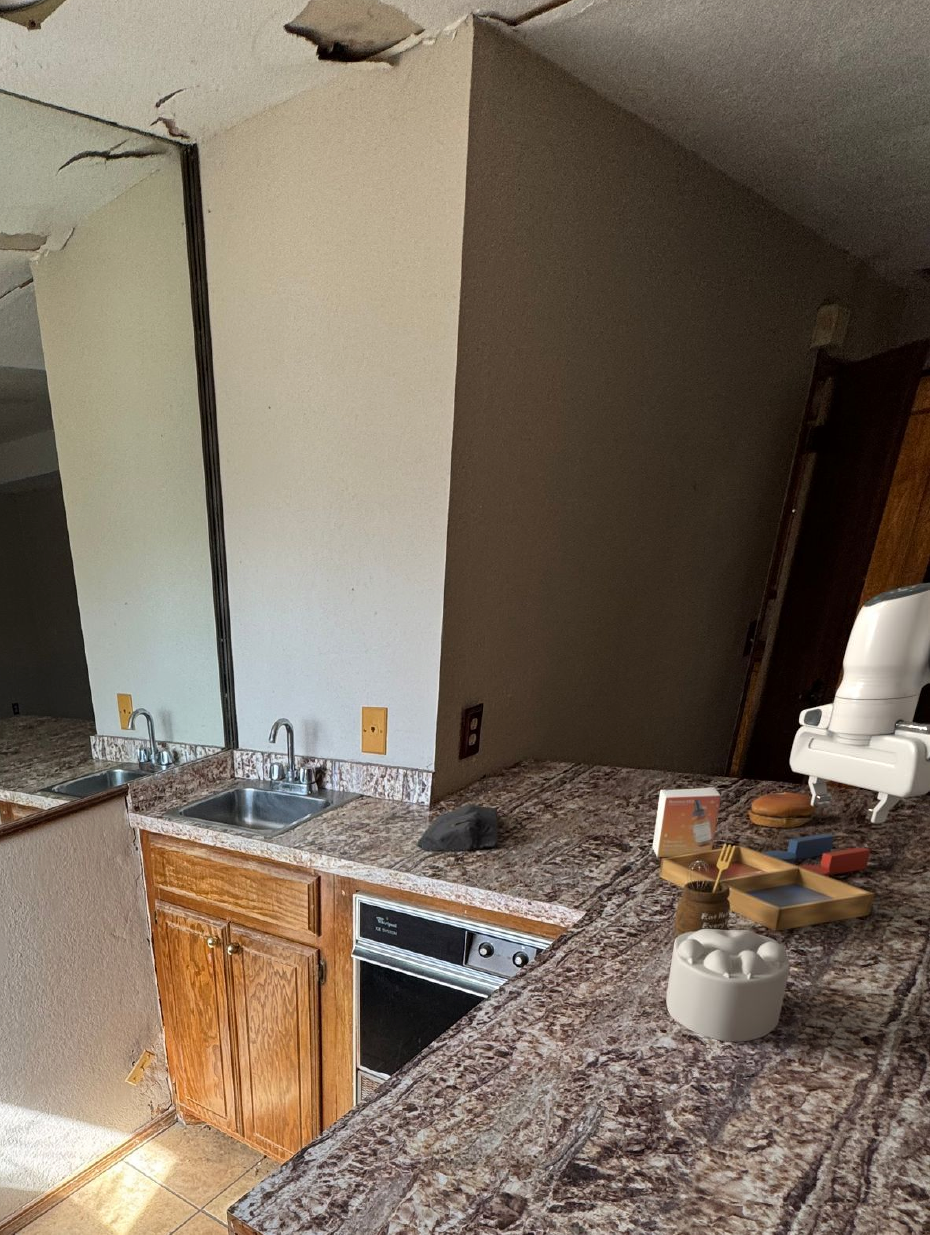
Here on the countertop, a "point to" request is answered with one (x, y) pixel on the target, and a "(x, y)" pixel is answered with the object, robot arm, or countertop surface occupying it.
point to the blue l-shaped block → (804, 848)
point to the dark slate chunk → (462, 830)
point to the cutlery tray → (772, 888)
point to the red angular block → (841, 861)
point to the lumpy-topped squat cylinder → (727, 983)
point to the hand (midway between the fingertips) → (846, 814)
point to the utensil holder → (705, 901)
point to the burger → (782, 810)
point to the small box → (686, 821)
